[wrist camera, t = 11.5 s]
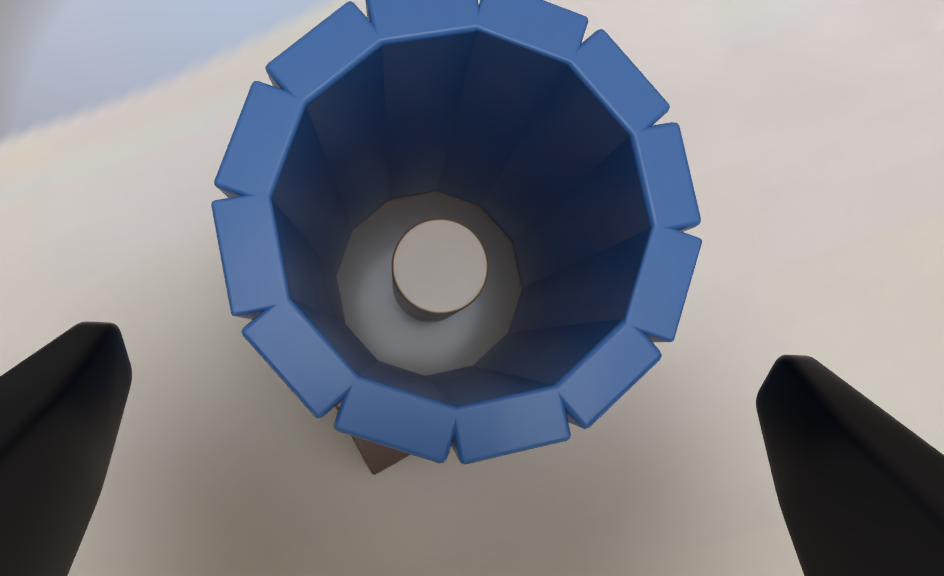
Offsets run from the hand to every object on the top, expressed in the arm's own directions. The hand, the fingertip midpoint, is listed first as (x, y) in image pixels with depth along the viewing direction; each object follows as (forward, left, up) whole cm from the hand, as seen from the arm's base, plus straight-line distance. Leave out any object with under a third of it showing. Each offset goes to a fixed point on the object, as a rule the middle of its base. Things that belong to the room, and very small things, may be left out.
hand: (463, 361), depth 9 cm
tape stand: (+2, 0, -11) cm, 11 cm away
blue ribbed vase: (+2, 0, -10) cm, 10 cm away
